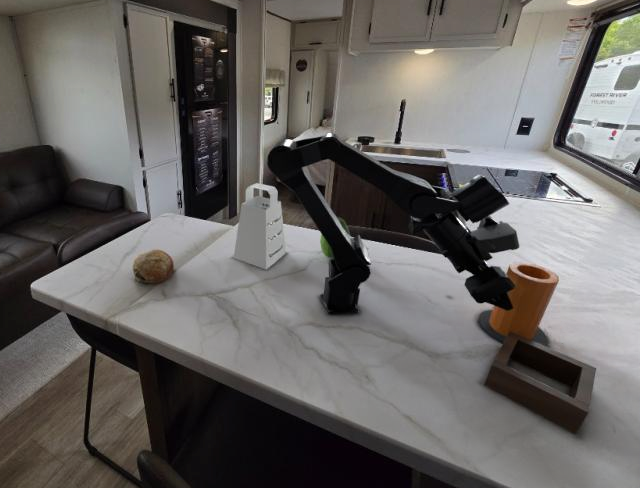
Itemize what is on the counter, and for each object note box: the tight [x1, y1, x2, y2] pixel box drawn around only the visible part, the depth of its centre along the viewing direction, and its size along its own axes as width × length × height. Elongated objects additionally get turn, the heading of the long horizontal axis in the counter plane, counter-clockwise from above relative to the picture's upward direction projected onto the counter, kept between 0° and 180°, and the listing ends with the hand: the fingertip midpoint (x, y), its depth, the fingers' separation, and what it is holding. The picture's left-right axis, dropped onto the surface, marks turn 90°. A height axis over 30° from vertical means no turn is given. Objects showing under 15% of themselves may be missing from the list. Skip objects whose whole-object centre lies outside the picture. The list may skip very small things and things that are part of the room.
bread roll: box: [132, 249, 174, 284], centre depth 85 cm, size 10×10×8 cm
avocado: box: [319, 216, 351, 260], centre depth 90 cm, size 8×8×12 cm
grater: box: [233, 182, 287, 270], centre depth 90 cm, size 10×10×20 cm
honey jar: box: [489, 261, 560, 340], centre depth 64 cm, size 7×7×13 cm
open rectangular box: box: [483, 331, 597, 435], centre depth 54 cm, size 11×11×4 cm
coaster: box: [477, 309, 549, 347], centre depth 67 cm, size 11×11×1 cm
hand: (499, 294), depth 65 cm, fingers open, 9 cm apart
